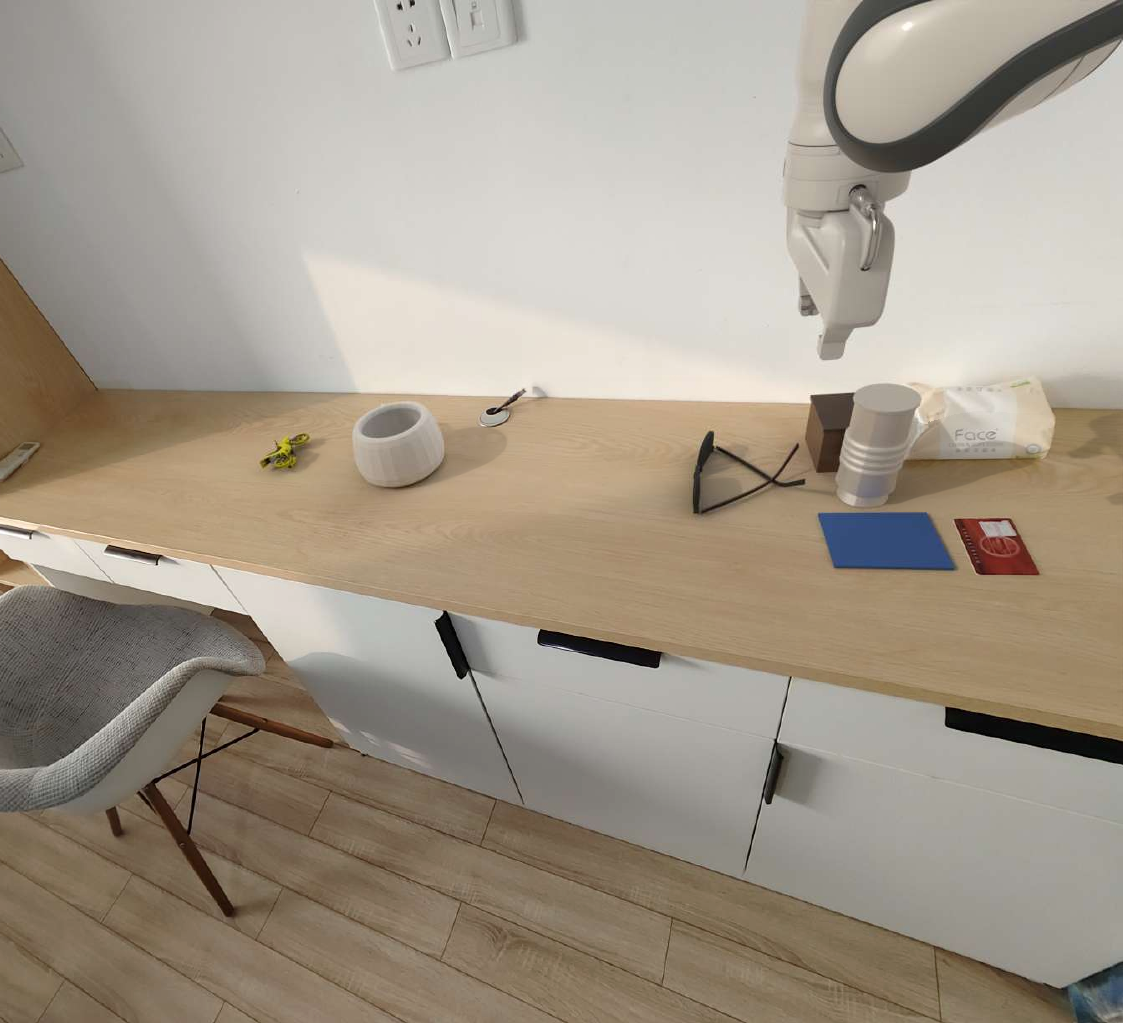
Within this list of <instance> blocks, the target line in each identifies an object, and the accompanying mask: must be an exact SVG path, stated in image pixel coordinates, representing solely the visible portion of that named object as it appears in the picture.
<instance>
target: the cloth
mask: <svg viewBox="0 0 1123 1023" xmlns="http://www.w3.org/2000/svg"><path fill="white" fill-rule="evenodd" d="M817 517H818V521H819V523H820V527H821V529H822V532H823V536H824V539H825V543H826V545H827V549H828V552H829V555H830V559H831V561H832V564H833V568H834V569H872V570H873V569H876V570H877V569H878V570H879V569H880V570H922V571H924V570H925V571H928V570H929V571H930V570H931V571H955V570H956V567H955V565H954V563H953V561H952V559H951V557H950V555H949V553H948V552H947V549H946V547H945V545H944V543H943V542H942V539H941V537H940V536H939V534H938V532H937V530H936V527H935V526H934V524H933V522H932V520H931V519H930V516H929V514H928V513H927V511H919V512H918V511H912V512H911V511H908V512H907V511H901V512H900V511H899V512H898V511H897V512H893V511H892V512H889V511H888V512H884V511H883V512H818V513H817Z"/></svg>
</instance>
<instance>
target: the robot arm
mask: <svg viewBox="0 0 1123 1023" xmlns="http://www.w3.org/2000/svg"><path fill="white" fill-rule="evenodd" d="M799 34H800V35H799V39H798V40H799V41H798V47H797V56H796V64H795V65H796V66H795V75H794V76H795V84H796V90H797V106H796V111H795V116H794V119H793V120H792V124H791V126H790V129H789V132H788V136H787V145H786V154H785V157H784V161H783V168H782V178H783V179H782V186H781V187H782V188H781V197H780V201H781V203H782V204H783V205H784V206H786V226H785V227H786V230H785V231H786V233H785V237H786V238H785V239H786V248H787V252H788V254H789V256H790V259H791V260H792V262H793V264H794V266H795V268H796V269H797V271H798V274H797V275H798V276H797V277H798V294H799V295H798V303H797V310H798V312H799V314H800V316H801V317H809V316H811V317H812V316H813V317H814V316H817V315H819V316H820V317H821V319H822V322H823V329H822V332H821V334H819V335H818V338H817V345H816V352H817V354H818V357H819V359H820V360H822V361H834V360H835V361H836V360H839V359H842V357H843V356H844V353H845V348H846V344H847V340H849V337H850V336H851V334H852V332H854V329H861V328H869V327H873V326H875V325H876V324H877V323H878V322H879V320H880V319H881V317H882V315H883V313H884V311H885V307H886V302H887V295H888V292H889V291H888V290H889V285H890V280H891V273H892V268H893V262H894V255H895V246H896V231H895V227H894V224H893V221H892V220H890V218H889V217H888V216H887V215H886V214H885V213H884V212H885V209H886V202H889V201H892V200H894V199H896V198H898V197H901V196H902V195H903V194H905V193H906V191H907V190H908V188H909V185H910V181H911V177H912V173H913V172H912V171H915V170H917V169H920V168H922V167H923V168H924V167H925V166H928V165H930V164H932V163H934V162H935V161H938V160H939V159H941V158H942V157H944V156H946V155H948V154H949V153H951V152H953V151H955V150H956V149H957V148H960V147H961V146H963V145H964V144H967V142H969V141H971V140H972V139H973V138H975V137H977V136H980V135H981V134H984V133H986V132H987V131H990V130H991V129H994V128H996V127H998V126H1000V125H1002V124H1004V123H1006V122H1008V121H1010V120H1012V119H1014V118H1016V117H1019V116H1020V115H1022V114H1024V113H1026V112H1028V111H1030V110H1033V109H1034V108H1036V107H1038V106H1041V105H1042V104H1044V103H1046V102H1048V101H1049V100H1051V99H1053V98H1056V97H1057V96H1058V95H1060V94H1063V93H1064V92H1065V91H1067V90H1069V89H1070V88H1071V87H1073V86H1074V85H1076V84H1078V83H1079V82H1081V81H1083V80H1084V79H1086V78H1087V77H1088V76H1089V75H1091V74H1092V73H1093V72H1095V71H1096V70H1097V69H1098V68H1099V67H1100V66H1102V64H1103V63H1105V62H1106V61H1107V60H1108V59H1109V58H1110V56H1111V55H1112V54H1113V53H1115V51H1116V49H1118V47H1119V46H1120V44H1121V43H1122V42H1123V0H805V5H804V10H803V16H802V21H801V27H800V33H799Z"/></svg>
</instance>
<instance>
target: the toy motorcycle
mask: <svg viewBox="0 0 1123 1023" xmlns="http://www.w3.org/2000/svg"><path fill="white" fill-rule="evenodd" d="M310 439H311V438H310V434H309V433H306V432H301V433H298V434H296V435H295V436H293V437H292V438H291V439H290V437H289V436H284V437H283V438H282V439H281V441H279V442H277V440H276V439H274V442H275V447H276V450H275V451H273V452H271V453H268V454H266V455H265V456H264V457H263V458H262V459H261V460H260V461H259V465H260V467H261V468H262V469H265V468H266V467H267V466H268V465H270V464H271V465H274V467H275V468H276V469H279V470H281V469H284V468H285V469H286V468H288V469H292V468H293V467H294V465H295V464H296V462H297V453H296V451H295V448H294V446H301V445H304V444H305V443H307V442H308V441H310Z"/></svg>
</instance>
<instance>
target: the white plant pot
mask: <svg viewBox="0 0 1123 1023" xmlns="http://www.w3.org/2000/svg"><path fill="white" fill-rule="evenodd" d="M351 441H352V443H351V444H352V452H353V456H354V457H353V458H354V461H355V465H356V468H357V469H358V472H359V473H360V475H361V476H362V477H363V479H364V480H365V481H367V482H368V483H369V484H372V485H375V486H377V487H382V488H400V487H401V488H402V487H406V486H409V485H413V484H415V483H417V482H419V481H422V480H424V479H425V478H427V477H428V476H430V475H431V474H432V473H433V472H435V471H436V470H437V469H438V468H439V466H440V465H441V463H442V462H443V460H444V457H445V453H446V447H445V446H446V445H445V441H444V437H443V434H442V431H441V428H440V426H439V424H438V422H437V420H436V418H435V416H434V415H433V413H432V412H431V411H430V410H429V409H428V408H427V406H425V405H424V404H422V403H420V402H417V401H411V400H402V401H401V400H400V401H394V402H393V401H392V402H390V403H385V402H381V403H380V404H379V406H377V407H375V408H373V409H370V410H369V411H368V412H366V413H365V414H363V415H362V416H361V417H360V418H359V419H357V421H356V422H355V423H354V426H353V429H352V433H351Z"/></svg>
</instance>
